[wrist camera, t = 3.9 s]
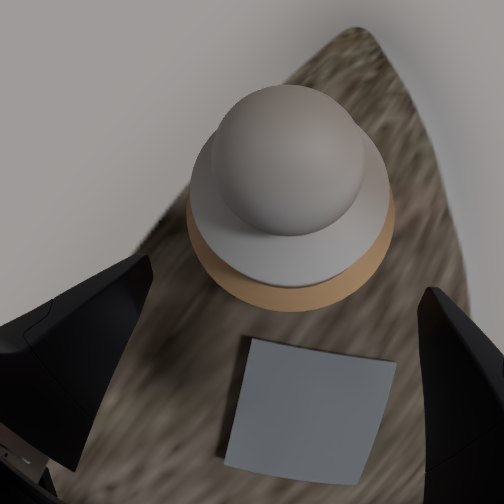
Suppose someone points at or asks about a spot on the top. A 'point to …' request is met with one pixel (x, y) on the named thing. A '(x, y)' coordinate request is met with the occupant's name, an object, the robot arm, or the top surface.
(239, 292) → the pepper mill
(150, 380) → the top surface
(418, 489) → the top surface
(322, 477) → the plate
